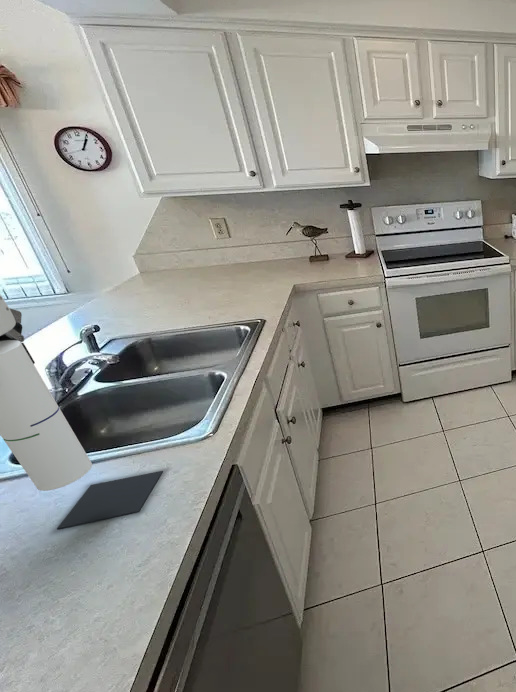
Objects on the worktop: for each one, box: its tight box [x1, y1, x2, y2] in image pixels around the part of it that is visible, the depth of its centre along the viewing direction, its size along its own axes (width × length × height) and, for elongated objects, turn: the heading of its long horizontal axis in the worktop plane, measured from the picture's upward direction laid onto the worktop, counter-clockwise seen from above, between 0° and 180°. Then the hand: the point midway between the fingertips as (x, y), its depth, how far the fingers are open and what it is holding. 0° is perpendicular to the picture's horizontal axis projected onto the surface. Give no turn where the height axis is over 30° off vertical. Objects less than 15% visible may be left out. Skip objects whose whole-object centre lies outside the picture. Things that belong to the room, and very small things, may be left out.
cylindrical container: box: [0, 340, 93, 492], centre depth 67 cm, size 7×7×25 cm
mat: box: [56, 470, 164, 530], centre depth 83 cm, size 13×11×1 cm
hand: (3, 378), depth 64 cm, fingers closed on cylindrical container, 7 cm apart
